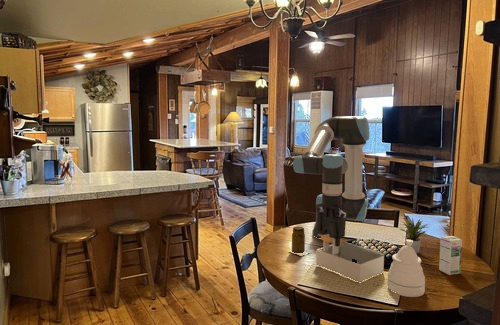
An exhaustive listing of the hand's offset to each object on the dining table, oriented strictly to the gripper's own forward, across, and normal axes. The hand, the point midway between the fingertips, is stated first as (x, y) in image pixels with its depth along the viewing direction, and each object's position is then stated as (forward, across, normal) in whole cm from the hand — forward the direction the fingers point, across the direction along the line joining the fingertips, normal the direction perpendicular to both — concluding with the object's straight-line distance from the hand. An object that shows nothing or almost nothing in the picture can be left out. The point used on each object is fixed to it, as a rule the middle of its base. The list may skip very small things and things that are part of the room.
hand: (330, 251), depth 147 cm
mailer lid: (-1, 0, +8) cm, 8 cm away
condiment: (+11, -27, +10) cm, 31 cm away
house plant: (+11, +6, +53) cm, 55 cm away
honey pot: (+11, +24, +14) cm, 30 cm away
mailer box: (+11, 0, +12) cm, 16 cm away
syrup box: (+11, +27, +43) cm, 52 cm away
